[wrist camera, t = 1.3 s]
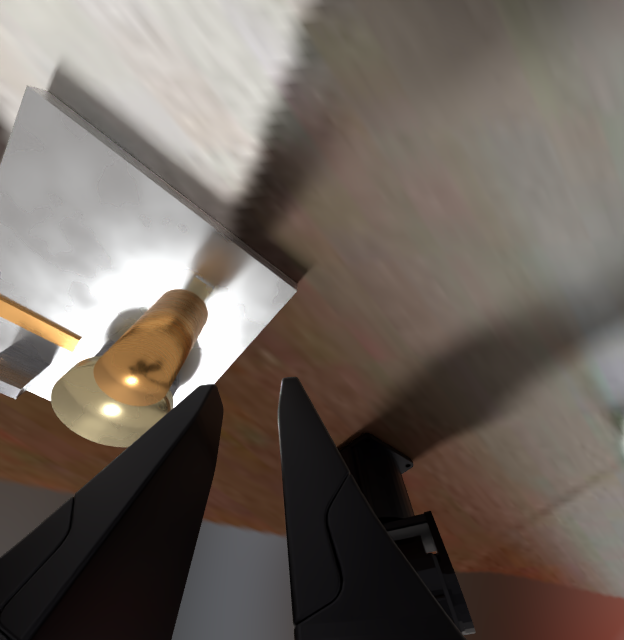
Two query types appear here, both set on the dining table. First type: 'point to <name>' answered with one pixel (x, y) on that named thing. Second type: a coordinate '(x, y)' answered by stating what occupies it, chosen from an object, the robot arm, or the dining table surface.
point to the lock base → (110, 256)
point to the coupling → (131, 374)
